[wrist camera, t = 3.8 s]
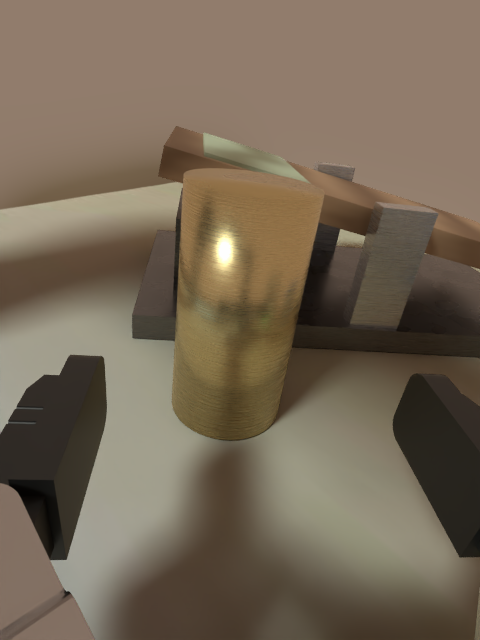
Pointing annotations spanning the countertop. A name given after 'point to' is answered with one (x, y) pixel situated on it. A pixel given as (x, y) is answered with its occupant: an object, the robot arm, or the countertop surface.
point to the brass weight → (239, 296)
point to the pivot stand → (352, 288)
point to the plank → (340, 195)
